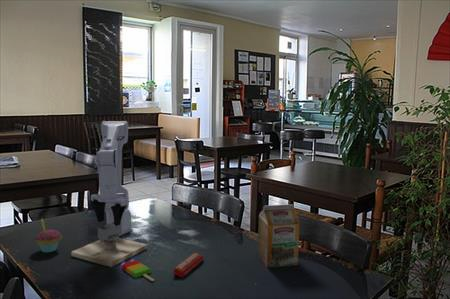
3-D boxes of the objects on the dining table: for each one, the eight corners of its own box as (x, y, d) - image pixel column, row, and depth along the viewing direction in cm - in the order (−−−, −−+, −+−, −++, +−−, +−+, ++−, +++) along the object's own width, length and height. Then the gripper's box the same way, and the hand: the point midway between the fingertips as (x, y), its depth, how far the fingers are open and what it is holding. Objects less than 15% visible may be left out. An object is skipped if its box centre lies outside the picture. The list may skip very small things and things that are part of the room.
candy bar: (181, 280, 125) (181, 270, 124) (171, 277, 126) (171, 268, 126) (205, 260, 139) (205, 251, 139) (195, 258, 141) (195, 250, 140)
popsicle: (135, 264, 136) (135, 259, 135) (161, 280, 125) (161, 274, 124) (120, 269, 132) (120, 263, 132) (145, 286, 121) (145, 280, 121)
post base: (109, 239, 157) (109, 227, 156) (147, 248, 148) (147, 236, 148) (71, 255, 141) (70, 243, 140) (111, 267, 133) (110, 253, 132)
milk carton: (266, 267, 134) (268, 210, 131) (257, 254, 144) (259, 201, 141) (297, 265, 136) (300, 208, 133) (286, 252, 146) (288, 200, 143)
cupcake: (34, 255, 141) (32, 221, 139) (38, 246, 149) (36, 214, 147) (61, 253, 143) (59, 219, 141) (63, 244, 151) (62, 212, 150)
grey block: (111, 233, 149) (111, 220, 148) (124, 236, 146) (124, 223, 145) (94, 241, 142) (94, 226, 141) (108, 244, 139) (107, 229, 138)
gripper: (83, 184, 141) (85, 223, 143) (115, 189, 134) (116, 230, 136) (98, 180, 147) (100, 217, 149) (130, 185, 140) (131, 224, 142)
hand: (109, 223), depth 143 cm, fingers open, 7 cm apart
